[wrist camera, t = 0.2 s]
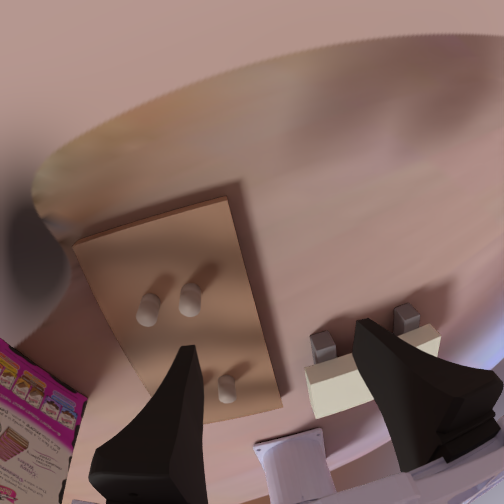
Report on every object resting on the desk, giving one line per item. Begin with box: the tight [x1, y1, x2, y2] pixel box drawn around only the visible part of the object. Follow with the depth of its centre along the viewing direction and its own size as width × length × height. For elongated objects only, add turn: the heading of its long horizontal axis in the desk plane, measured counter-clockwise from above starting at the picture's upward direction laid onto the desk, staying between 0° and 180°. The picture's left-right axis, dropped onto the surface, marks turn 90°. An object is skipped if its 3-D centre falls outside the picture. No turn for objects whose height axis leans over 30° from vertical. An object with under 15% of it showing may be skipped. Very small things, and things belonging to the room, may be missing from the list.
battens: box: [310, 303, 420, 365], centre depth 27 cm, size 8×10×2 cm
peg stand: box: [72, 196, 283, 424], centre depth 23 cm, size 20×11×3 cm, turn 13°
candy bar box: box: [0, 338, 88, 504], centre depth 17 cm, size 11×5×16 cm, turn 47°
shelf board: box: [304, 323, 441, 419], centre depth 25 cm, size 12×5×2 cm, turn 103°
